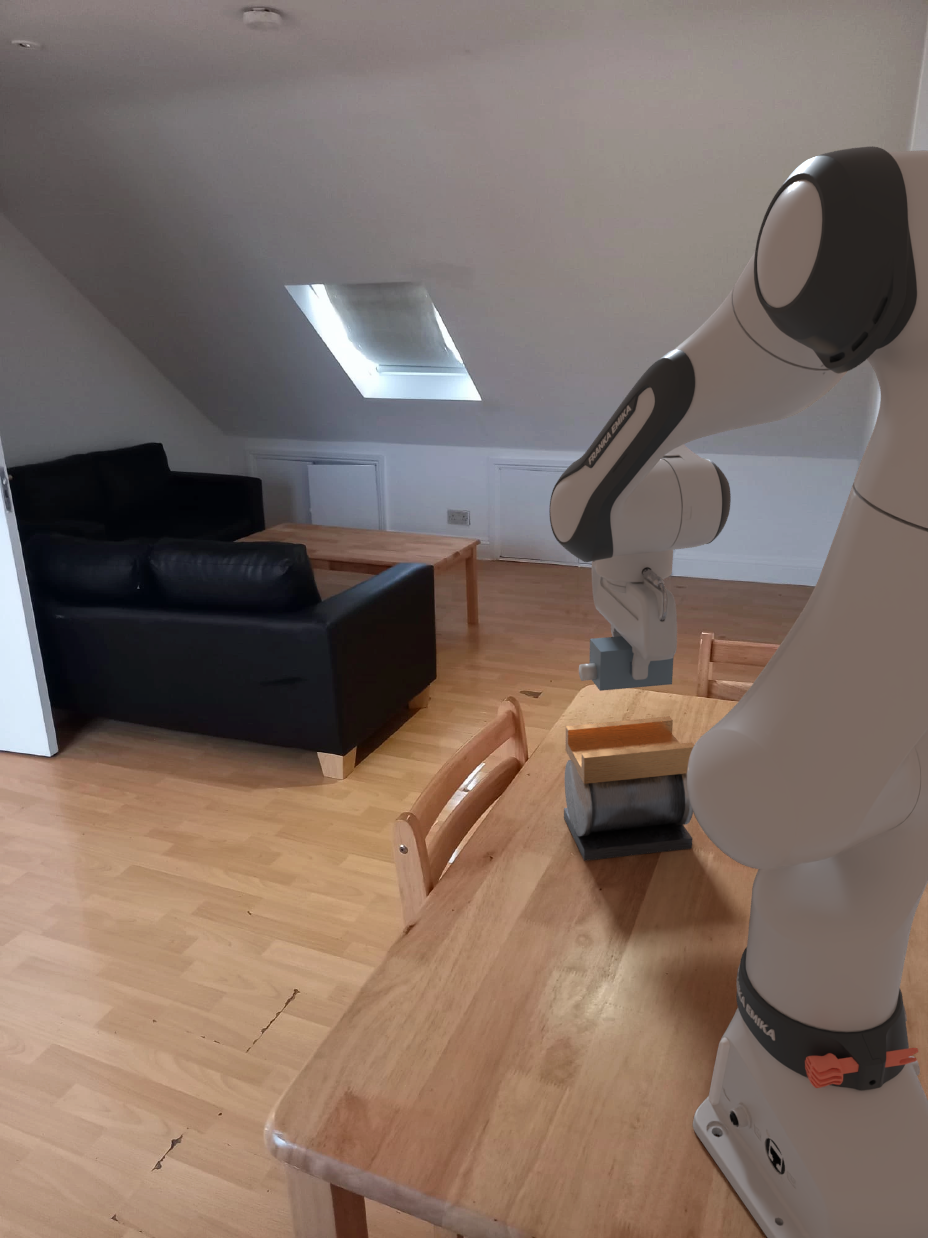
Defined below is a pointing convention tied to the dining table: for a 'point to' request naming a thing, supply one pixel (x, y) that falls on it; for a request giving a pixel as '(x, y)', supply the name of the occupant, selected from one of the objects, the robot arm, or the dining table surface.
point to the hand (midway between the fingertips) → (630, 668)
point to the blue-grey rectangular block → (620, 666)
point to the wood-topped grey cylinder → (627, 788)
